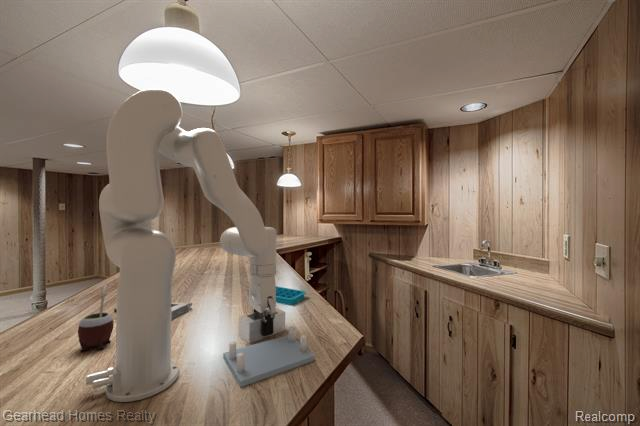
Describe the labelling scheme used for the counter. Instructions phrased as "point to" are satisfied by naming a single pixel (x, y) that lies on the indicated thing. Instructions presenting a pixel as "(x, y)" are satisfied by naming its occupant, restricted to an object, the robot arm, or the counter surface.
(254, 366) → the pin tray
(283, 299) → the ice cube tray
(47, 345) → the counter surface
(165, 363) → the robot arm
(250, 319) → the block
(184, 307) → the graphics card
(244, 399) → the counter surface
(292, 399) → the counter surface
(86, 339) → the mate gourd
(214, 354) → the counter surface
